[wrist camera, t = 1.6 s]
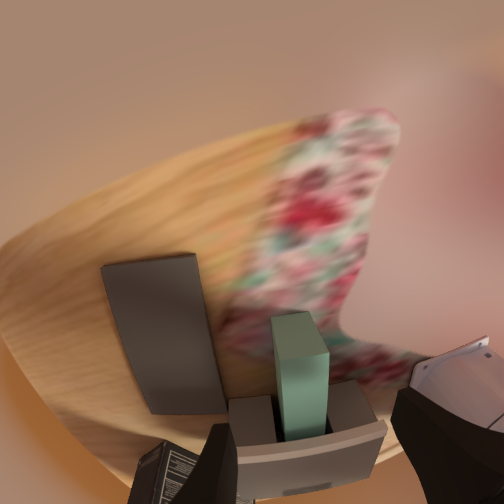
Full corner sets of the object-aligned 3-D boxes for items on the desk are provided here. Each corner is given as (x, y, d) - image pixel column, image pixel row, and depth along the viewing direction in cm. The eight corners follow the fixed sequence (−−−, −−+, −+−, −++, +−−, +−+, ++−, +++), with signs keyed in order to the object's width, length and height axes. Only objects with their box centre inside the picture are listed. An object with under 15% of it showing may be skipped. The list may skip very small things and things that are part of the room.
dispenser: (356, 371, 18) (388, 428, 12) (348, 427, 20) (369, 478, 14) (227, 391, 18) (224, 457, 12) (240, 444, 20) (241, 501, 14)
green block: (308, 310, 17) (329, 352, 12) (309, 416, 20) (321, 461, 15) (270, 315, 17) (279, 360, 12) (280, 421, 20) (287, 467, 15)
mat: (195, 253, 16) (194, 256, 15) (227, 408, 19) (227, 413, 18) (104, 265, 16) (100, 267, 15) (153, 409, 19) (152, 414, 18)
